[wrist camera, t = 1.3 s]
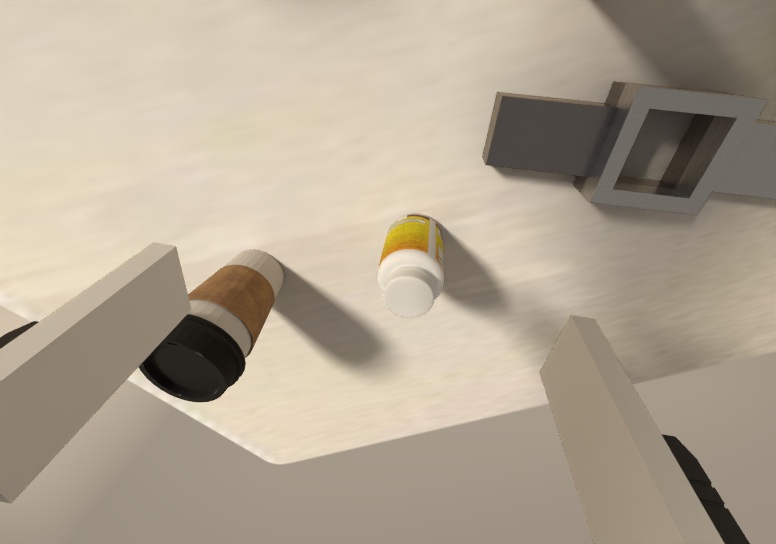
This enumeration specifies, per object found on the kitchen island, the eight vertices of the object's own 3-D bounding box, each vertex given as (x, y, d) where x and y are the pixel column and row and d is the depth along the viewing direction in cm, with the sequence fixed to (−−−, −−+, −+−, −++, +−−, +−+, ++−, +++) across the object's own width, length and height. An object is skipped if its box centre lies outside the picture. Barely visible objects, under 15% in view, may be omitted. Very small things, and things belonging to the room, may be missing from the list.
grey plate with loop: (478, 173, 31) (483, 189, 27) (502, 69, 26) (511, 73, 23) (768, 208, 29) (810, 229, 26) (844, 105, 25) (907, 114, 22)
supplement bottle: (376, 236, 35) (357, 296, 27) (414, 199, 33) (406, 253, 24) (415, 269, 37) (408, 336, 28) (454, 237, 34) (460, 300, 26)
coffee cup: (298, 250, 37) (228, 353, 25) (292, 308, 42) (231, 419, 30) (222, 230, 37) (113, 323, 25) (224, 291, 42) (133, 395, 29)
